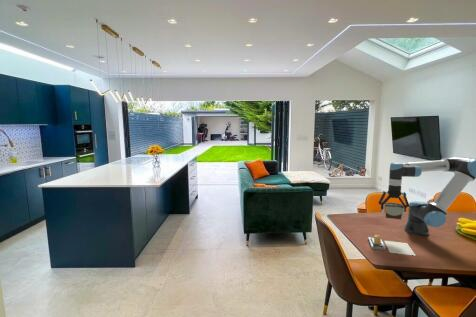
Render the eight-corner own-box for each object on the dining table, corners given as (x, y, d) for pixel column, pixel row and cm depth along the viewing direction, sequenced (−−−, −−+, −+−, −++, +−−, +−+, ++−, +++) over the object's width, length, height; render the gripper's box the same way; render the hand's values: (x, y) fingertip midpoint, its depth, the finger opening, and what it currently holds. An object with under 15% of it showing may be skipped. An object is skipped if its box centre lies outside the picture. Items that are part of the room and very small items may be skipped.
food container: (401, 217, 180) (402, 203, 179) (403, 219, 175) (404, 205, 173) (381, 215, 185) (382, 201, 183) (383, 217, 179) (384, 204, 178)
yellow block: (379, 242, 171) (379, 235, 170) (380, 244, 167) (380, 237, 167) (373, 241, 172) (374, 234, 171) (375, 244, 168) (375, 237, 168)
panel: (380, 240, 178) (380, 237, 177) (385, 250, 164) (385, 247, 163) (368, 239, 180) (368, 236, 180) (371, 248, 166) (371, 245, 166)
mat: (407, 243, 173) (407, 243, 173) (415, 256, 156) (415, 255, 156) (383, 240, 177) (383, 240, 177) (390, 252, 161) (390, 252, 161)
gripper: (413, 185, 176) (410, 215, 179) (374, 182, 184) (373, 211, 187) (416, 187, 169) (414, 218, 172) (376, 184, 177) (374, 214, 180)
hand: (392, 215), depth 179 cm, fingers closed on food container, 11 cm apart
